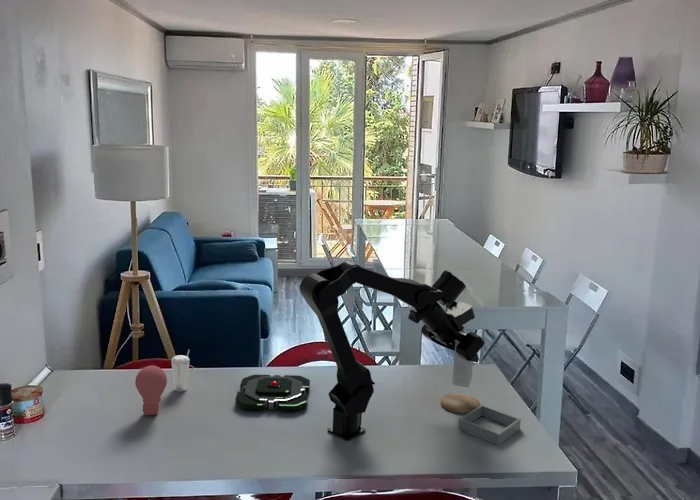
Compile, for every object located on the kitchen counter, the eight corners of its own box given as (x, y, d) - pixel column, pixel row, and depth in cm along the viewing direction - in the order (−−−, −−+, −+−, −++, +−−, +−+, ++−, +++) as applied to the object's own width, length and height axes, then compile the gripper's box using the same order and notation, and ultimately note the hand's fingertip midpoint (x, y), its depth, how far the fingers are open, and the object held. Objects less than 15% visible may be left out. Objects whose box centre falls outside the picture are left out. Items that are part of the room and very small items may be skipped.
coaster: (466, 418, 155) (467, 415, 154) (432, 404, 161) (433, 401, 161) (487, 405, 162) (487, 402, 162) (454, 392, 168) (454, 390, 168)
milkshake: (196, 387, 166) (195, 351, 163) (180, 394, 161) (179, 357, 159) (183, 383, 168) (183, 347, 166) (168, 389, 163) (167, 353, 161)
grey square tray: (498, 444, 142) (499, 434, 142) (458, 428, 149) (459, 418, 149) (519, 428, 150) (520, 419, 150) (481, 413, 157) (481, 404, 156)
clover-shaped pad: (310, 384, 171) (310, 368, 170) (307, 415, 154) (307, 398, 153) (243, 382, 171) (243, 366, 170) (233, 413, 153) (233, 396, 152)
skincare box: (455, 375, 163) (459, 332, 161) (471, 378, 162) (475, 334, 160) (451, 385, 158) (455, 339, 155) (468, 388, 156) (472, 342, 154)
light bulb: (173, 414, 151) (172, 367, 148) (146, 424, 146) (144, 375, 143) (157, 404, 155) (156, 358, 153) (130, 413, 150) (129, 366, 148)
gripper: (482, 304, 145) (513, 344, 153) (434, 284, 161) (464, 320, 169) (451, 341, 143) (485, 379, 151) (406, 317, 159) (438, 352, 167)
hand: (468, 355), depth 159 cm, fingers closed on skincare box, 7 cm apart
